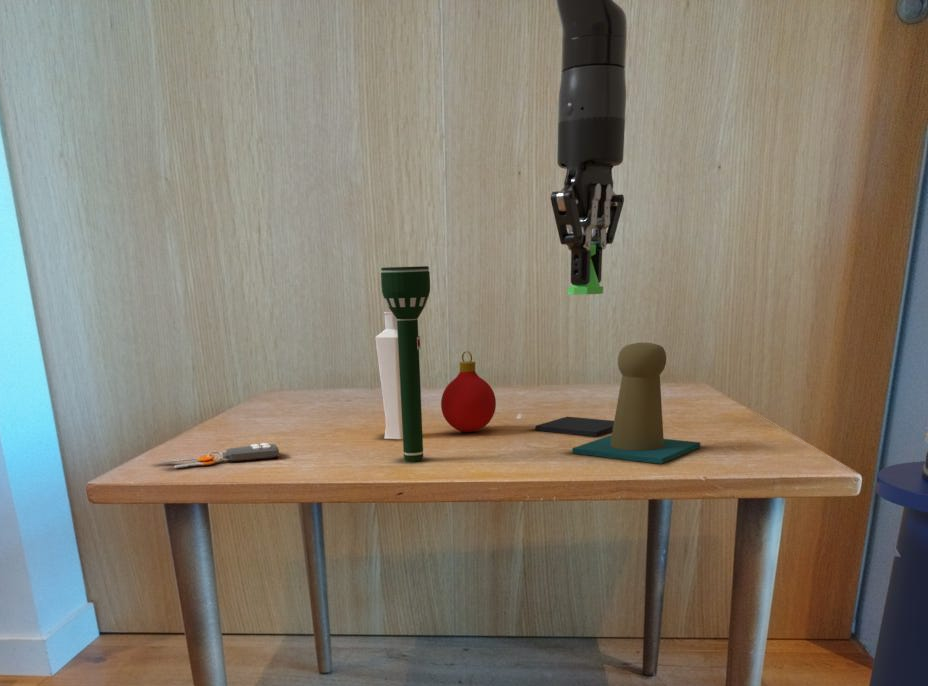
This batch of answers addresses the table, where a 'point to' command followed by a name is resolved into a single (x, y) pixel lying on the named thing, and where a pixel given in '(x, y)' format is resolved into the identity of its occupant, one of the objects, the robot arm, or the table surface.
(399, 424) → the perfume bottle
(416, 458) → the flashlight
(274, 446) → the key chain
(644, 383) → the cork
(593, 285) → the game piece
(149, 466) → the table surface
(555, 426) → the charcoal pad
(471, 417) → the christmas ornament
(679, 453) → the teal pad
